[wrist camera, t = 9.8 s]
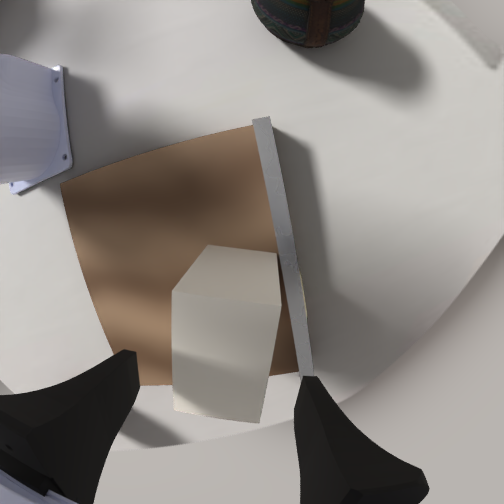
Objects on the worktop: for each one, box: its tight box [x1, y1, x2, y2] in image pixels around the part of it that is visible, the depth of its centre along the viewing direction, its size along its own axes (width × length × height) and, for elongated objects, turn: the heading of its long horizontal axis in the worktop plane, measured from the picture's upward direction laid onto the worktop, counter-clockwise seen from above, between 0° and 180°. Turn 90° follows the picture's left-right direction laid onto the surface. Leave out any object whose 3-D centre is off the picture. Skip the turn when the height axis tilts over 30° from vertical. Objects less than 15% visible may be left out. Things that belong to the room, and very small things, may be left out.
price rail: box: [252, 116, 314, 382], centre depth 19 cm, size 18×1×2 cm, turn 12°
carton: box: [171, 245, 282, 423], centre depth 17 cm, size 5×7×8 cm, turn 174°
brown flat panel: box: [60, 125, 299, 386], centre depth 21 cm, size 18×16×1 cm
